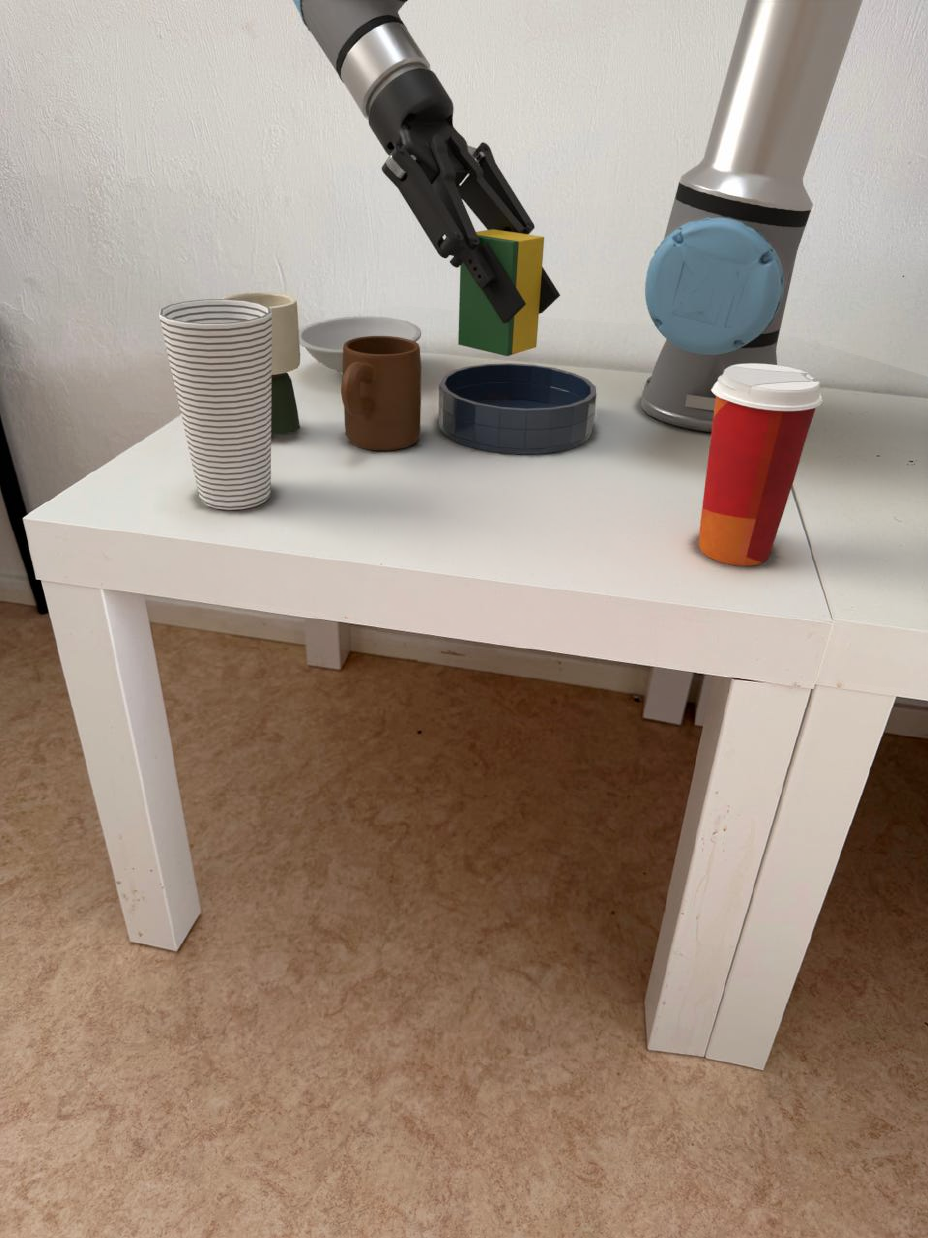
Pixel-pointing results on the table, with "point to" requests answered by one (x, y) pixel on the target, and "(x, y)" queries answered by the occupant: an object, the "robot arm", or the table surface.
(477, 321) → the sponge
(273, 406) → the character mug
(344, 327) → the dish
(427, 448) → the table surface
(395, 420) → the mug
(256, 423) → the cup
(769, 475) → the paper cup
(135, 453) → the table surface
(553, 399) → the bowl
